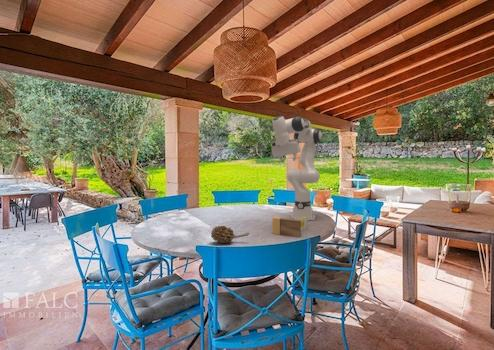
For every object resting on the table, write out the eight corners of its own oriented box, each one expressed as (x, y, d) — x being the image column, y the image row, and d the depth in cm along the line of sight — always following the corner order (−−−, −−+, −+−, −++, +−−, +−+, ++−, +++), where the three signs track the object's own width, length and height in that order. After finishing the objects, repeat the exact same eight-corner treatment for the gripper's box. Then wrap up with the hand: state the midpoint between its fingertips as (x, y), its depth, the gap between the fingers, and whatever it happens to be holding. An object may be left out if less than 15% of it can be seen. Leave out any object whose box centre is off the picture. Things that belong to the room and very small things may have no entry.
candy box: (305, 228, 192) (305, 216, 191) (307, 229, 190) (308, 217, 190) (292, 234, 179) (292, 221, 178) (295, 234, 178) (295, 221, 177)
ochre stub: (274, 232, 182) (274, 217, 181) (281, 233, 179) (281, 217, 179) (272, 233, 179) (272, 218, 178) (279, 234, 177) (279, 218, 176)
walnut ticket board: (282, 233, 180) (282, 218, 179) (300, 236, 174) (300, 219, 174) (280, 235, 176) (280, 219, 175) (298, 237, 171) (298, 221, 170)
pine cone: (210, 246, 156) (210, 228, 156) (211, 241, 166) (211, 224, 165) (250, 244, 159) (250, 227, 158) (248, 239, 168) (248, 223, 167)
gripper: (299, 137, 181) (304, 157, 183) (273, 143, 194) (278, 162, 196) (294, 138, 176) (300, 160, 178) (268, 144, 190) (273, 164, 191)
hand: (288, 161), depth 187 cm, fingers open, 8 cm apart
